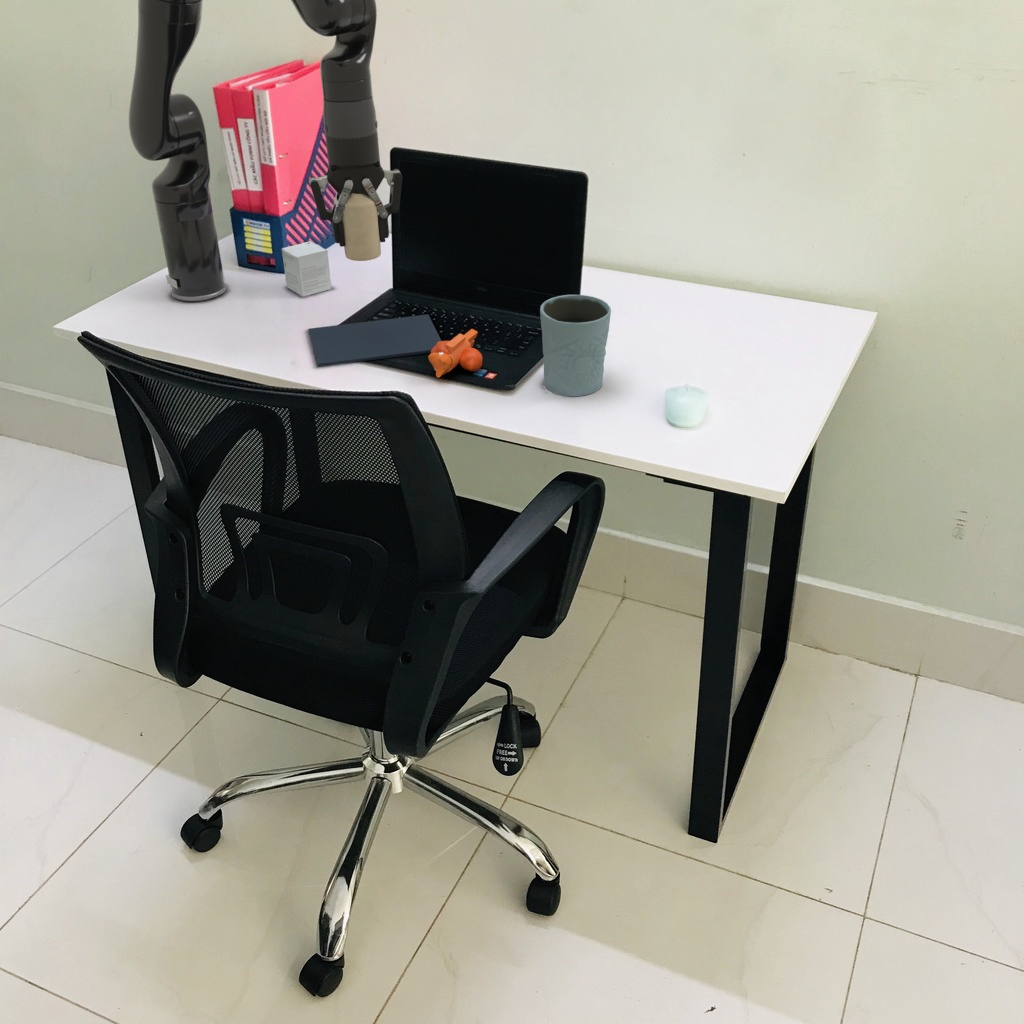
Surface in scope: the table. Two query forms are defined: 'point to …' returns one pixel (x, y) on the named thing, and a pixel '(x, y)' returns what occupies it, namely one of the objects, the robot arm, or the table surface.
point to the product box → (306, 268)
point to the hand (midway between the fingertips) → (361, 242)
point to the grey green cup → (574, 343)
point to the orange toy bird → (456, 354)
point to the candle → (361, 228)
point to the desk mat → (373, 340)
